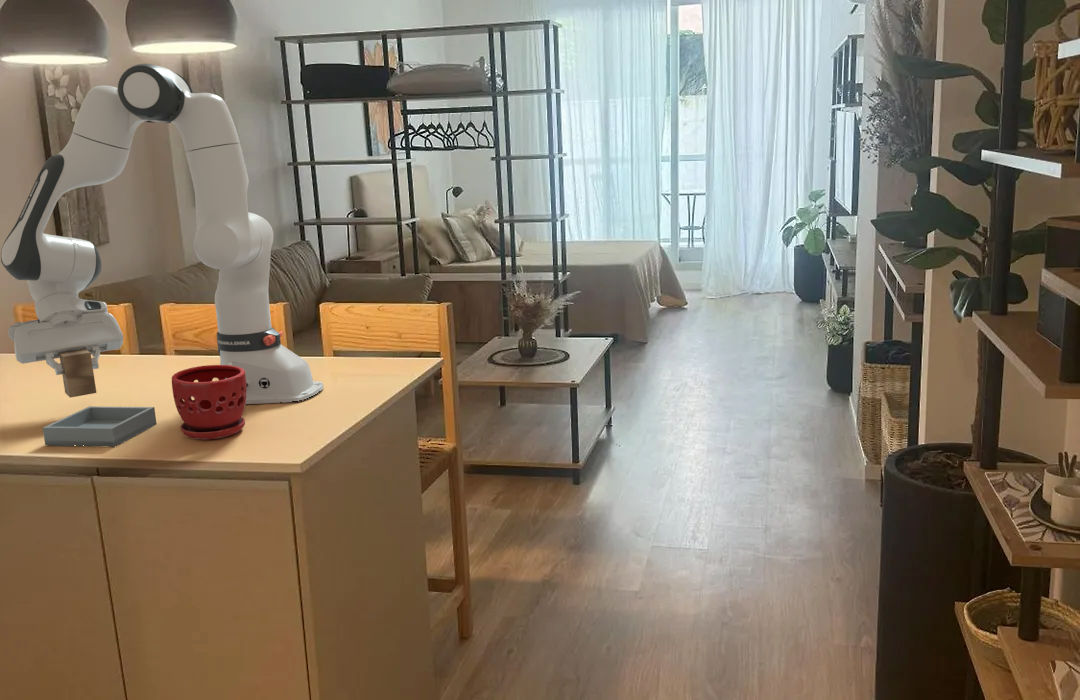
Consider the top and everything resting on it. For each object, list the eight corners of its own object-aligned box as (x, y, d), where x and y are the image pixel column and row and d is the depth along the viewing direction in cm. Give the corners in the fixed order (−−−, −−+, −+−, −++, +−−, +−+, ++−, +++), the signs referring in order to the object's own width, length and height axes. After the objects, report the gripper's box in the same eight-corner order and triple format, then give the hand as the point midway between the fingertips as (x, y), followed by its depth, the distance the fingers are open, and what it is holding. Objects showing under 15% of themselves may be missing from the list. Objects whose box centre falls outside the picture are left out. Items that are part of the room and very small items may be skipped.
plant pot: (164, 443, 173) (156, 380, 170) (201, 422, 186) (194, 363, 183) (230, 445, 171) (222, 381, 168) (263, 423, 183) (257, 364, 181)
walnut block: (91, 388, 197) (85, 348, 195) (96, 392, 193) (90, 352, 191) (65, 392, 194) (58, 352, 192) (69, 397, 190) (63, 356, 188)
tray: (156, 424, 185) (154, 407, 185) (114, 447, 172) (112, 428, 171) (91, 423, 187) (89, 406, 187) (45, 445, 174) (42, 427, 173)
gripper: (5, 314, 189) (20, 370, 183) (113, 301, 201) (131, 353, 195) (5, 333, 194) (20, 388, 188) (111, 319, 205) (128, 370, 200)
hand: (77, 370), depth 192 cm, fingers closed on walnut block, 5 cm apart
